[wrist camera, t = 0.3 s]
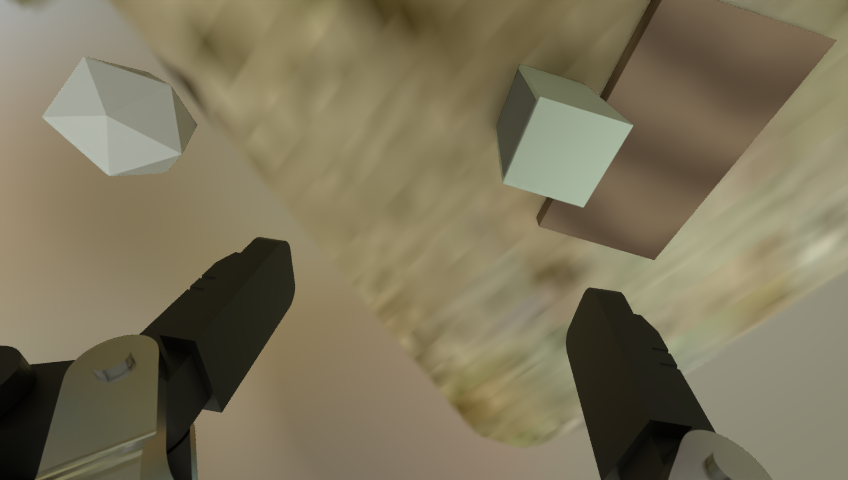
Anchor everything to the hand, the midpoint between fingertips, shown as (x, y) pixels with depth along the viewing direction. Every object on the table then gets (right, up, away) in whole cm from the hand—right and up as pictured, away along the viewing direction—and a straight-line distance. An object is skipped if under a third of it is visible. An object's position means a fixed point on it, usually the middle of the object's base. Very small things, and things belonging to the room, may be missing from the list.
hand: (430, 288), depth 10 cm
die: (-23, +13, +22) cm, 34 cm away
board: (+18, +9, +18) cm, 27 cm away
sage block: (+9, +11, +18) cm, 23 cm away
